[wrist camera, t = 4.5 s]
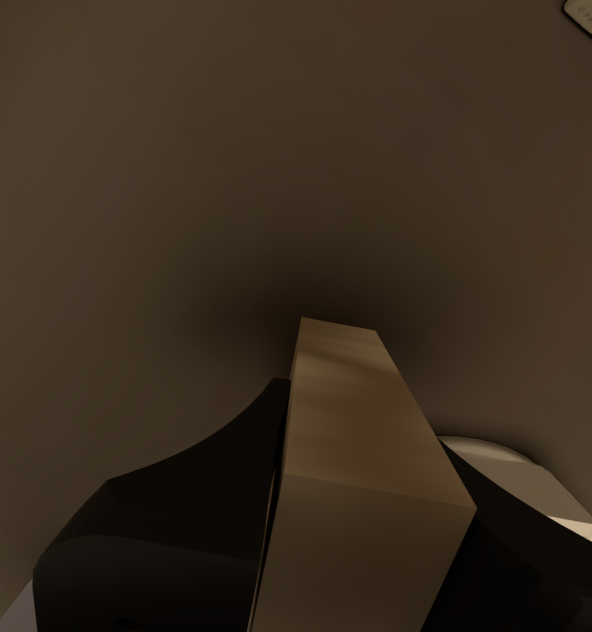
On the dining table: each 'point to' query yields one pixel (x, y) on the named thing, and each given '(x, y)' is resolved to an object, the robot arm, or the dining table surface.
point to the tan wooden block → (355, 496)
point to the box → (580, 12)
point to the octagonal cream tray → (523, 481)
